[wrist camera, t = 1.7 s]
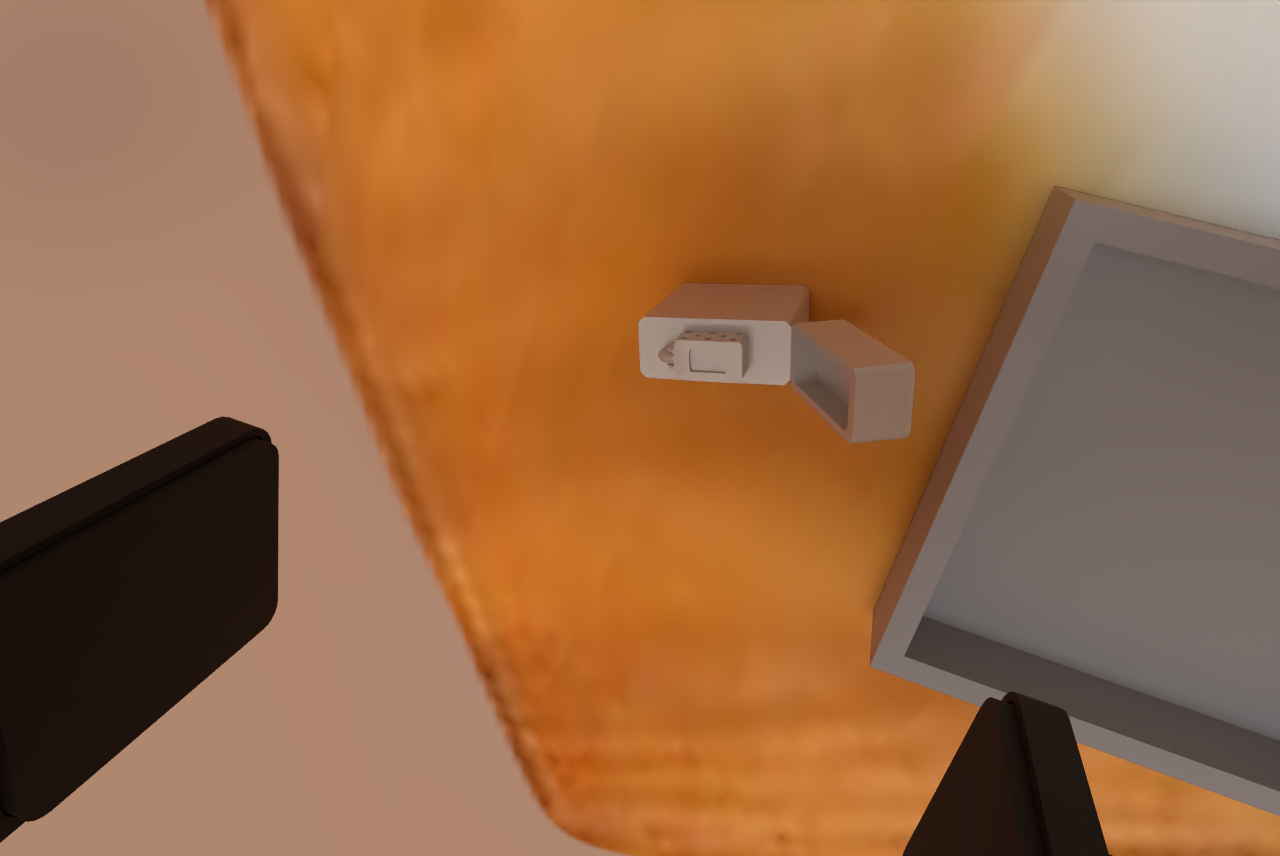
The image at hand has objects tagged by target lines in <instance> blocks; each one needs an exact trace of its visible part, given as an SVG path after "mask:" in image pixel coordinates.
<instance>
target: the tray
mask: <svg viewBox="0 0 1280 856" xmlns="http://www.w3.org/2000/svg"><path fill="white" fill-rule="evenodd" d="M870 667H873V668H876V669H878V670H881V671H884V672H887V673H889V674H892V675H895V676H898V677H900V678H903V679H906V680H908V681H911V682H914V683H917V684H919V685H922V686H925V687H928V688H930V689H933V690H936V691H939V692H941V693H944V694H947V695H950V696H952V697H955V698H958V699H960V700H963V701H966V702H969V703H971V704H974V705H977V706H980V707H981V706H982V704H983V703H984V701H985V700H986V699H987V698H989V697H992V698H995V699H998V700H1002V699H1003V697H1004V696H1005V695H1006V694H1007V693H1008V692H1012V691H1014V692H1017V693H1020V694H1023V695H1025V696H1028V697H1031V698H1034V699H1037V700H1040V701H1043V702H1045V703H1048V704H1051V705H1054V706H1057V707H1060V708H1062V709H1064V710H1065V711H1066V712H1067V714H1068V716H1069V718H1070V722H1071V725H1072V729H1073V732H1074V736H1075V739H1076V742H1078V743H1081V744H1084V745H1086V746H1089V747H1092V748H1095V749H1097V750H1100V751H1103V752H1106V753H1108V754H1111V755H1114V756H1116V757H1119V758H1122V759H1125V760H1127V761H1130V762H1133V763H1136V764H1138V765H1141V766H1144V767H1147V768H1149V769H1152V770H1155V771H1158V772H1160V773H1163V774H1166V775H1168V776H1171V777H1174V778H1177V779H1179V780H1182V781H1185V782H1188V783H1190V784H1193V785H1196V786H1199V787H1201V788H1204V789H1207V790H1210V791H1212V792H1215V793H1218V794H1220V795H1223V796H1226V797H1229V798H1231V799H1234V800H1237V801H1240V802H1242V803H1245V804H1248V805H1251V806H1253V807H1256V808H1259V809H1262V810H1264V811H1267V812H1270V813H1272V814H1275V815H1278V816H1280V241H1279V240H1275V239H1271V238H1267V237H1263V236H1259V235H1255V234H1251V233H1247V232H1242V231H1238V230H1234V229H1230V228H1226V227H1222V226H1218V225H1214V224H1210V223H1205V222H1201V221H1197V220H1193V219H1189V218H1185V217H1181V216H1177V215H1172V214H1168V213H1164V212H1160V211H1156V210H1152V209H1148V208H1144V207H1140V206H1135V205H1131V204H1127V203H1123V202H1119V201H1115V200H1111V199H1107V198H1102V197H1098V196H1094V195H1090V194H1086V193H1082V192H1078V191H1074V190H1070V189H1065V188H1061V187H1057V186H1054V188H1053V190H1052V192H1051V195H1050V197H1049V199H1048V202H1047V204H1046V207H1045V209H1044V211H1043V214H1042V216H1041V218H1040V221H1039V223H1038V225H1037V228H1036V230H1035V232H1034V235H1033V237H1032V239H1031V242H1030V244H1029V246H1028V249H1027V251H1026V254H1025V256H1024V258H1023V261H1022V263H1021V265H1020V268H1019V270H1018V272H1017V275H1016V277H1015V279H1014V282H1013V284H1012V286H1011V289H1010V291H1009V293H1008V296H1007V298H1006V300H1005V303H1004V305H1003V308H1002V310H1001V312H1000V315H999V317H998V319H997V322H996V324H995V326H994V329H993V331H992V333H991V336H990V338H989V340H988V343H987V345H986V347H985V350H984V352H983V355H982V357H981V359H980V362H979V364H978V366H977V369H976V371H975V373H974V376H973V378H972V380H971V383H970V385H969V387H968V390H967V392H966V394H965V397H964V399H963V401H962V404H961V406H960V409H959V411H958V413H957V416H956V418H955V420H954V423H953V425H952V427H951V430H950V432H949V434H948V437H947V439H946V441H945V444H944V446H943V448H942V451H941V453H940V456H939V458H938V460H937V463H936V465H935V467H934V470H933V472H932V474H931V477H930V479H929V481H928V484H927V486H926V488H925V491H924V493H923V495H922V498H921V500H920V502H919V505H918V507H917V510H916V512H915V514H914V517H913V519H912V521H911V524H910V526H909V528H908V531H907V533H906V535H905V538H904V540H903V542H902V545H901V547H900V549H899V552H898V554H897V557H896V559H895V561H894V564H893V566H892V568H891V571H890V573H889V575H888V578H887V580H886V582H885V585H884V587H883V589H882V592H881V594H880V596H879V599H878V601H877V603H876V606H875V608H874V611H873V623H872V639H871V655H870Z"/></svg>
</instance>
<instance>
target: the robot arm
mask: <svg viewBox="0 0 1280 856" xmlns="http://www.w3.org/2000/svg"><path fill="white" fill-rule="evenodd" d="M278 480H279V455H278V450H277V448H276V446H274V445H273V444H272V443H271V438H270V436H269V434H268V433H267V432H266V431H265V430H263V429H261V428H258V427H255V426H252V425H250V424H247V423H244V422H241V421H238V420H235V419H232V418H230V417H220V418H216V419H214V420H212V421H209V422H207V423H205V424H203V425H201V426H199V427H197V428H195V429H193V430H191V431H189V432H187V433H185V434H183V435H180V436H178V437H176V438H174V439H172V440H170V441H168V442H166V443H164V444H162V445H160V446H158V447H156V448H154V449H151V450H149V451H147V452H145V453H143V454H141V455H139V456H137V457H135V458H133V459H131V460H129V461H127V462H124V463H122V464H120V465H118V466H116V467H114V468H112V469H110V470H108V471H106V472H104V473H102V474H100V475H98V476H95V477H94V478H91V479H89V480H87V481H85V482H83V483H81V484H79V485H77V486H75V487H73V488H71V489H69V490H66V491H65V492H62V493H60V494H58V495H56V496H54V497H52V498H50V499H48V500H46V501H44V502H42V503H40V504H37V505H35V506H33V507H31V508H29V509H28V510H25V511H23V512H21V513H19V514H17V515H15V516H13V517H11V518H9V519H7V520H4V521H2V522H0V842H2V841H3V840H4V839H5V838H6V837H8V836H9V835H10V834H11V833H12V832H14V831H15V830H16V829H17V828H18V827H19V826H21V825H22V824H23V823H24V822H25V821H27V822H29V821H35V820H37V819H39V818H41V817H43V816H45V815H46V814H48V813H49V812H50V811H52V810H53V809H54V808H55V807H56V806H58V805H59V804H60V803H61V802H62V801H63V800H64V799H65V798H67V797H68V796H69V795H70V794H71V793H73V792H74V791H75V790H76V789H77V788H79V787H80V786H81V785H82V784H83V783H84V782H86V781H87V780H88V779H89V778H90V777H91V776H92V775H94V774H95V773H96V772H97V771H98V770H100V769H101V768H102V767H103V766H104V765H105V764H107V763H108V762H109V761H110V760H111V759H112V758H114V756H116V755H117V754H118V753H119V752H121V751H122V750H123V749H124V748H125V747H126V746H128V745H129V744H130V743H131V742H132V741H133V740H135V739H136V738H137V737H138V736H139V735H140V734H142V733H143V732H144V731H145V730H146V729H147V728H149V727H150V726H151V725H152V724H153V723H154V722H156V721H157V720H158V719H159V718H160V717H161V716H163V715H164V714H165V713H166V712H167V711H169V709H171V708H172V707H173V706H174V705H175V704H177V703H178V702H179V701H180V700H181V699H183V698H184V697H185V696H186V695H187V694H188V693H189V692H191V691H192V690H193V689H194V688H195V687H197V686H198V685H199V684H200V683H201V682H202V681H204V680H205V679H206V678H207V677H208V676H209V675H210V674H212V673H213V672H214V671H215V670H216V669H218V668H219V667H220V666H221V665H222V664H223V663H225V662H226V661H227V660H228V659H229V658H230V657H232V656H233V655H234V654H235V653H236V652H237V651H238V650H240V649H241V648H242V647H243V646H244V645H246V644H247V643H248V642H249V641H250V640H251V639H253V638H254V637H255V636H256V635H257V634H258V633H260V632H261V631H262V630H263V629H264V628H265V627H266V626H267V625H268V624H269V622H270V621H271V619H272V617H273V615H274V613H275V611H276V608H277V603H278V485H279V483H278V482H279V481H278ZM903 856H1112V855H1109V854H1108V850H1107V847H1106V843H1105V840H1104V836H1103V833H1102V829H1101V826H1100V822H1099V819H1098V815H1097V812H1096V808H1095V805H1094V801H1093V798H1092V795H1091V791H1090V788H1089V784H1088V781H1087V777H1086V774H1085V770H1084V767H1083V763H1082V760H1081V756H1080V753H1079V749H1078V746H1077V743H1076V739H1075V736H1074V732H1073V729H1072V725H1071V722H1070V718H1069V716H1068V714H1067V712H1066V711H1065V710H1064V709H1062V708H1060V707H1057V706H1054V705H1051V704H1048V703H1045V702H1043V701H1040V700H1037V699H1034V698H1031V697H1028V696H1025V695H1023V694H1020V693H1017V692H1014V691H1012V692H1008V693H1007V694H1006V695H1005V696H1004V697H1003V699H1002V700H998V699H995V698H992V697H989V698H987V699H986V700H985V701H984V703H983V704H982V706H981V708H980V709H979V711H978V713H977V715H976V717H975V719H974V721H973V723H972V724H971V726H970V728H969V730H968V732H967V734H966V736H965V738H964V739H963V741H962V743H961V745H960V747H959V749H958V751H957V752H956V754H955V756H954V758H953V760H952V762H951V764H950V766H949V767H948V769H947V771H946V773H945V775H944V777H943V779H942V780H941V782H940V784H939V786H938V788H937V790H936V792H935V794H934V795H933V797H932V799H931V801H930V803H929V805H928V807H927V809H926V810H925V812H924V814H923V816H922V818H921V820H920V822H919V823H918V825H917V827H916V829H915V831H914V833H913V835H912V837H911V838H910V840H909V842H908V844H907V846H906V848H905V850H904V853H903Z"/></svg>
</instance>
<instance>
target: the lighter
mask: <svg viewBox="0 0 1280 856" xmlns="http://www.w3.org/2000/svg"><path fill="white" fill-rule="evenodd" d="M809 309H810V290H809V289H808V288H807V287H806V286H805V285H765V284H713V283H683V284H681V285H680V286H679V287H678V288H677V289H676V290H675V291H673V292H672V293H671V294H670V295H669V296H668V297H666V298H665V299H664V300H663V301H662V302H661V303H659V304H658V305H657V306H656V307H655V308H654V309H652V310H651V311H650V312H649V313H648V314H647V315H646V316H644V317H643V318H642V319H641V320H640V322H639V323H638V330H639V351H640V372H641V373H642V374H643V375H644V376H645V377H646V378H659V379H677V380H687V381H705V382H723V383H749V384H767V385H785V384H786V383H787V382H789V381H790V382H791V386H792V388H793V389H794V390H795V391H796V392H797V393H798V394H799V395H800V396H801V397H802V398H803V399H804V400H805V401H806V402H807V403H808V404H809V405H810V406H811V407H812V408H813V409H814V410H815V411H816V412H817V413H818V414H819V415H820V416H821V417H822V418H823V419H824V420H825V421H826V422H827V423H828V424H829V425H830V426H831V427H832V428H833V429H834V430H835V431H836V432H837V433H838V434H839V435H840V436H841V437H842V438H843V439H844V440H845V441H846V442H847V443H848V444H852V443H862V442H871V441H881V440H890V439H900V438H906V437H907V436H908V435H909V434H910V432H911V420H912V409H913V398H914V387H915V376H916V372H915V368H914V365H913V362H911V361H910V360H908V359H906V358H905V357H903V356H902V355H900V354H898V353H897V352H895V351H894V350H892V349H891V348H889V347H887V346H886V345H884V344H883V343H881V342H879V341H878V340H876V339H875V338H873V337H871V336H870V335H868V334H867V333H865V332H863V331H862V330H860V329H859V328H857V327H855V326H854V325H852V324H851V323H849V322H847V321H846V320H844V319H838V320H827V321H815V322H809Z"/></svg>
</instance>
